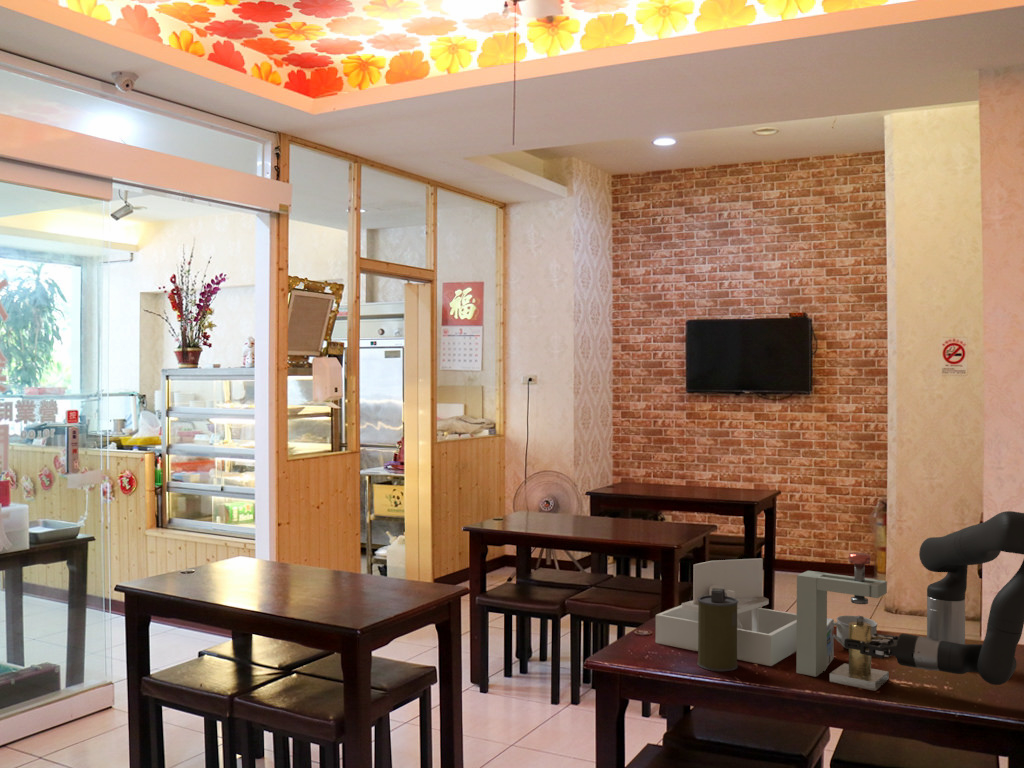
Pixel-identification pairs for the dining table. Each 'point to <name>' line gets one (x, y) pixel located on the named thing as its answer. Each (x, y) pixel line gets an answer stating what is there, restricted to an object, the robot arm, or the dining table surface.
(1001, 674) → the robot arm
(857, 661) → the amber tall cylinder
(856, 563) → the ram
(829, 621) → the light bulb box
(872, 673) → the plate
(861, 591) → the press frame
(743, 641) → the box
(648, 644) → the dining table surface
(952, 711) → the dining table surface
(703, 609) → the canister
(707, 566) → the upright panel with ledge
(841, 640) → the teacup
